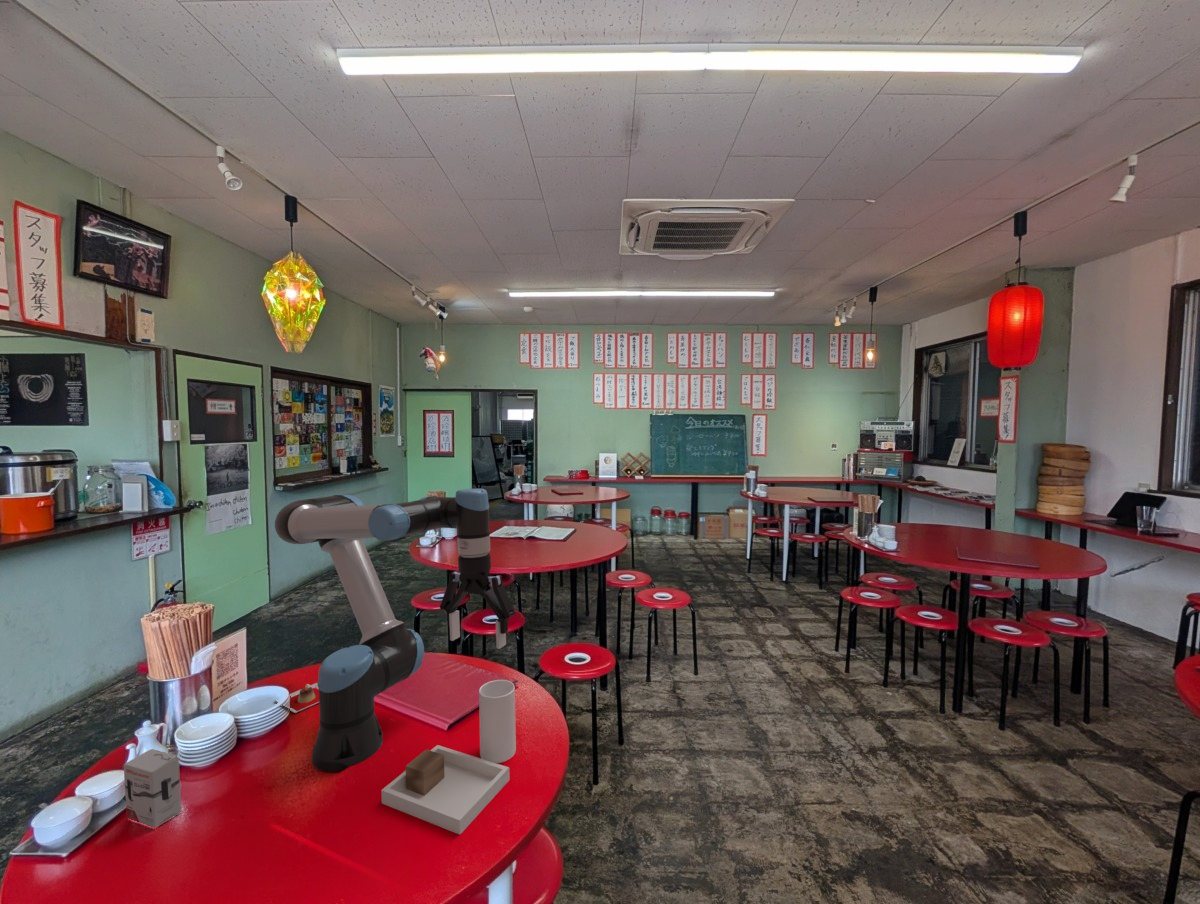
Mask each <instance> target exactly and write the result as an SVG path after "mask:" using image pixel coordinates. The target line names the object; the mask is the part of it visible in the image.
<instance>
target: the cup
mask: <svg viewBox="0 0 1200 904" xmlns="http://www.w3.org/2000/svg"><path fill="white" fill-rule="evenodd" d="M515 689H516V688H515V684H514V683H513V682H512V681H510V680H507V679H495V680H490V681H488V682H485V683H483V684H482V685H481V686H480V687H479V690H478V702H479V703H478V706H479V707H478V709H479V713H478V714H479V755H480V759H484V760H487V761H490V762H493V763H496V764H500V763H504V762H506V761H508V760H510V759H511V758H512V757H514V755H515V754H516V751H517V747H516V745H517V744H516V741H517V740H516V738H517V737H516V734H517V733H516V732H517V731H516V690H515Z"/></svg>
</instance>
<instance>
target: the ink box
mask: <svg viewBox="0 0 1200 904" xmlns="http://www.w3.org/2000/svg"><path fill="white" fill-rule="evenodd" d="M179 759H180V758H179V756H178V755H177V754H173V753H170V752H169V753H168V752H166V751H161V750H159V749H158V750H157V749H154V748H152V749H149V750H147V751H145V752H143V753H141V754H140V755H138V756H136V757H134V758H132V759H131V760H129V761H127V762H125V763H124V764H123V777H124V793H125V809H126V811H125V812H126V819H127V818H129V819H131V820H134V821H137V822H140V823H143V824H146V825H148V826H151V827H154V828H155V827H157V826H159V825H160V824H162V823H164V822H165V821H167V820H169V819H170V818H172V817H173V816H175V815H177V814H178V815H180V814H181V813H182V799H181V798H182V796H181V794H182V793H181V777H180V762H179V761H180V760H179ZM180 812H181V813H180ZM179 813H180V814H179ZM178 815H177V816H178ZM175 817H176V816H175ZM172 819H173V818H172ZM169 821H170V820H169Z"/></svg>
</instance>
